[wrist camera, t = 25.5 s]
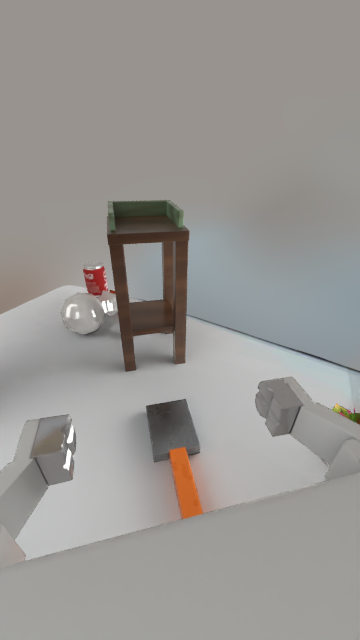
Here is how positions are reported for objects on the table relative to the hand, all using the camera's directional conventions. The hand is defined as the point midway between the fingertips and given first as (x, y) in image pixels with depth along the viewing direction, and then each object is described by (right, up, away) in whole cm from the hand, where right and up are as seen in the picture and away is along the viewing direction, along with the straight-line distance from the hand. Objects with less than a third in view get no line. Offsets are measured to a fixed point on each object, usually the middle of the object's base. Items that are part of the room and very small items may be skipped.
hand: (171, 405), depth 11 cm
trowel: (0, -16, +25) cm, 29 cm away
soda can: (-21, +7, +62) cm, 66 cm away
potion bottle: (-20, +2, +54) cm, 58 cm away
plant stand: (-6, -2, +46) cm, 47 cm away
